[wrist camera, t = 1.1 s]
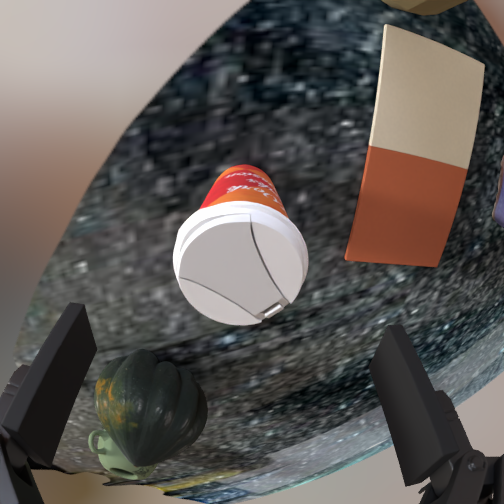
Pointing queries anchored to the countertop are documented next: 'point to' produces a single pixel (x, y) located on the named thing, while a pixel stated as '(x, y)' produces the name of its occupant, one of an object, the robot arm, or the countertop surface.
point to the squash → (149, 407)
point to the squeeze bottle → (423, 5)
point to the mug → (117, 458)
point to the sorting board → (416, 151)
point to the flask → (499, 199)
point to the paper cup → (240, 251)
